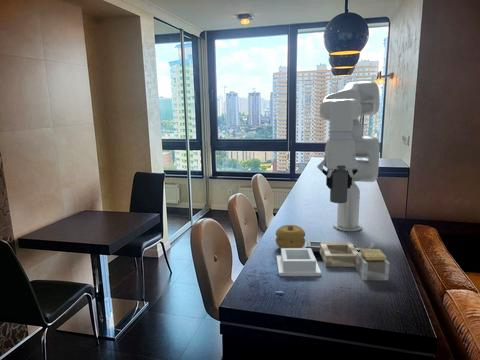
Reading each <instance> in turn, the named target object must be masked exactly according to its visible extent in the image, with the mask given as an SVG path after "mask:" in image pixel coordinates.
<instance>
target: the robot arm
mask: <svg viewBox="0 0 480 360" xmlns="http://www.w3.org/2000/svg"><path fill="white" fill-rule="evenodd" d="M380 101H381V100H380V88H379V86H378V84H377V82H375V81H372V80H369V81H352V82H348V83H346V84H345V85H344V86H343V88H341V90H339V91H336V92H334V93H330V94H328V95H325V97H324V98H323V99H322V101H321V103H320V106H319V115H320V116H319V117H320V118H321V120H323V121H329V137H328V138H329V139H327V140H326V143H325V148H324V157H323V160H322V161H321V162H320V163H319V164H318V165H317V166H316V168H317V169H318V170H319V171H321V173H322V174H323V175H325V176H326V180H325V181H326V182H325V185H326V187H327V188H328V189H329V190H330V189H331V188H332V178H331V174H332V171H333V170H337V166H345V167H346V168H344V169H346V171H347V172H348V190H347V202H346V203H337V216H336V221H335V222H334V223H333V228H335V230H338V229H339V231H343V232H358V231H360V230H362V228H363V226H362V224H361V223H359V222H360V221H359V218H360V198H361V197H360V196H361V191H360V188H359V185H357V184H356V183H357V182H362V183H373V182H376V181H377V180H378V176H379V168H380V167H379V163H380V150H381V148H380V147H381V146H380V140H379V139H378V138H377V137H376V136H369V135H367V136H364V135H363V133H364V131H363V130H364V125H363V123H362V122H361V121H360V119H359V117H360V116H374V115H377V113H378V112H379V111H380ZM356 158H361V159H362V160H361V159H356ZM363 158H364V160H363ZM365 159H367V160H365ZM324 167H325V168H326V169H327V170H326V169H324Z"/></svg>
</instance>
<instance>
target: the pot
mask: <svg viewBox="0 0 480 360" xmlns="http://www.w3.org/2000/svg"><path fill="white" fill-rule="evenodd" d="M275 236H276V238H275V243H276V245H277V246H278V248H279V249H280V250H281V248H304V245H305V244H306V238H305V237H306V231H305V230H304V229H303V228H302V227H301V226H298V225H295V224H294V225H293V224H286V225H281V226H279V228H278V229H276V231H275Z"/></svg>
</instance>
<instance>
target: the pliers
mask: <svg viewBox="0 0 480 360" xmlns="http://www.w3.org/2000/svg"><path fill="white" fill-rule="evenodd" d="M348 242H350V243H351V241H350V240H348V241H347V243H348ZM358 247H359V249H374V243H373V242H372V241H370V245H366V246H363V247H362V248H361V247H360V246H358ZM358 253H361V252H358Z"/></svg>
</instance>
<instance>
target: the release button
mask: <svg viewBox="0 0 480 360" xmlns="http://www.w3.org/2000/svg"><path fill="white" fill-rule="evenodd" d="M360 252H361V254H362V255H363V257H364V259H365V260H366V261H367V262H383V260H387V256H386V255H385V254H384V252H383V251H382V250H381V249H380V248H372V249H365V248H364V249H363V248H362V249H360Z"/></svg>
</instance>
